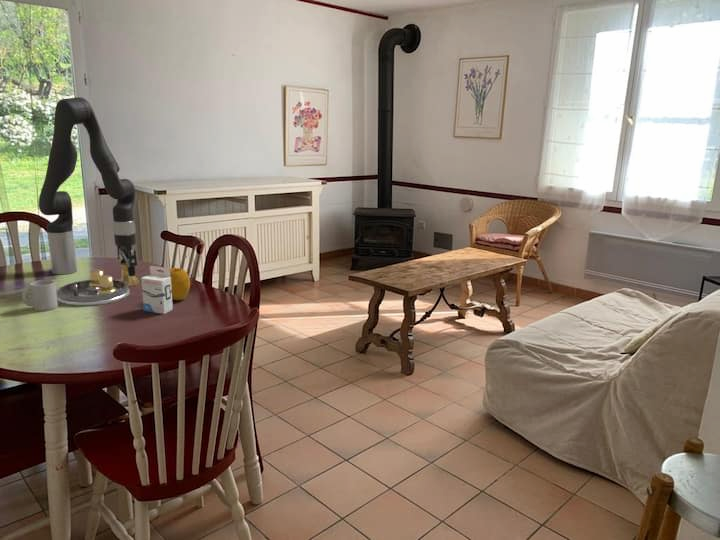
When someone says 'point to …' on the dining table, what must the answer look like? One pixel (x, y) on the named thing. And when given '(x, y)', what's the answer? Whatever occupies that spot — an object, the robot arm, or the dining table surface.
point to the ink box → (157, 291)
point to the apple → (179, 283)
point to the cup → (41, 295)
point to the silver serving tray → (93, 291)
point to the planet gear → (126, 278)
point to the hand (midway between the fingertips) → (128, 273)
